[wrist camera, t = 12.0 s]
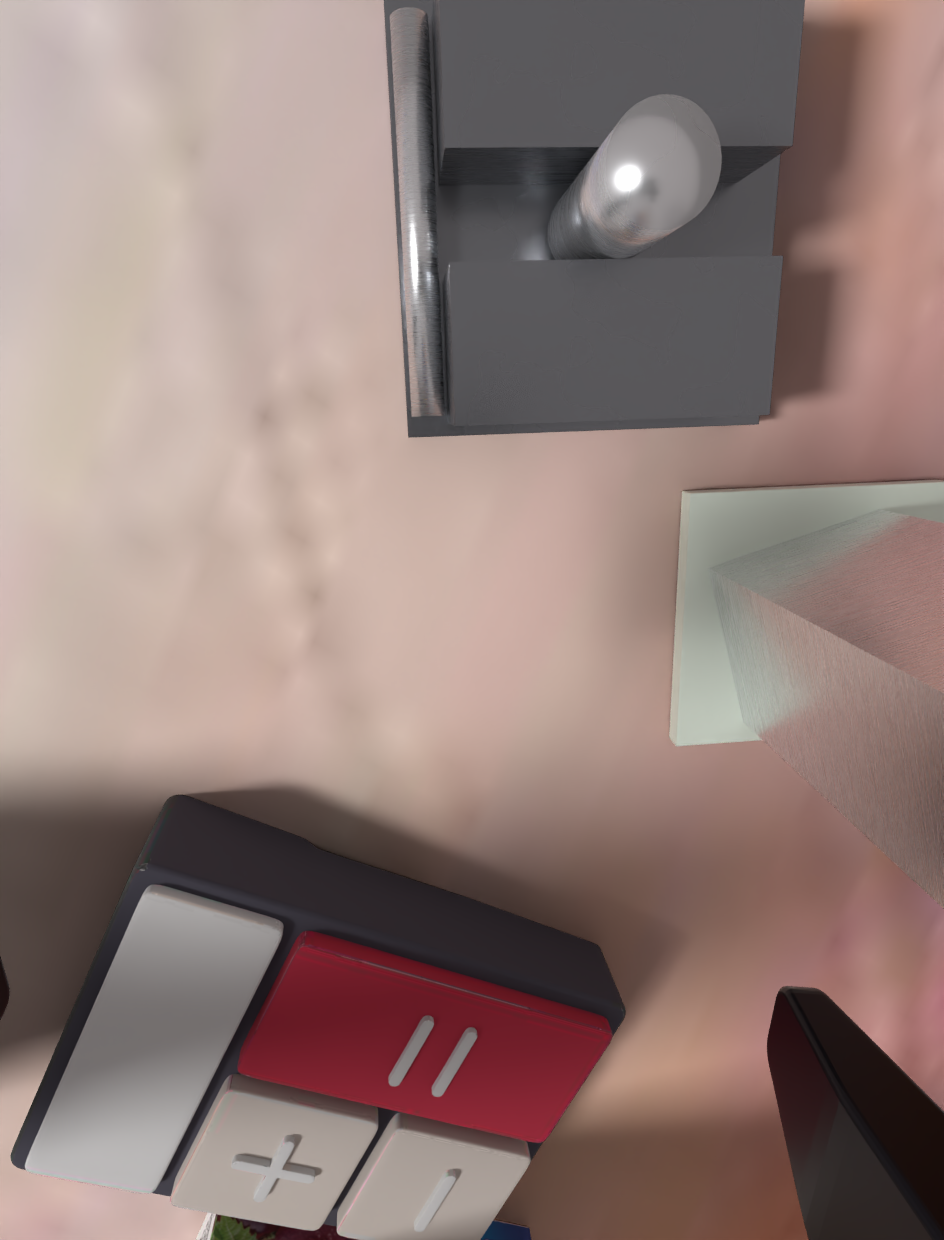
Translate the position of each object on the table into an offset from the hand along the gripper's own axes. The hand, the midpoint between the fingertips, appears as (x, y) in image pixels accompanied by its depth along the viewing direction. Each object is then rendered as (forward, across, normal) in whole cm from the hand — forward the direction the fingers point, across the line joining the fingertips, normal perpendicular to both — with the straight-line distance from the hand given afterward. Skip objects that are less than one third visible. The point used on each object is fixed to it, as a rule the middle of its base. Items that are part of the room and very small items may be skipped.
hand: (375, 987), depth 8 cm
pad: (+14, -10, 0) cm, 17 cm away
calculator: (+12, +4, +14) cm, 19 cm away
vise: (+14, -3, -9) cm, 17 cm away
